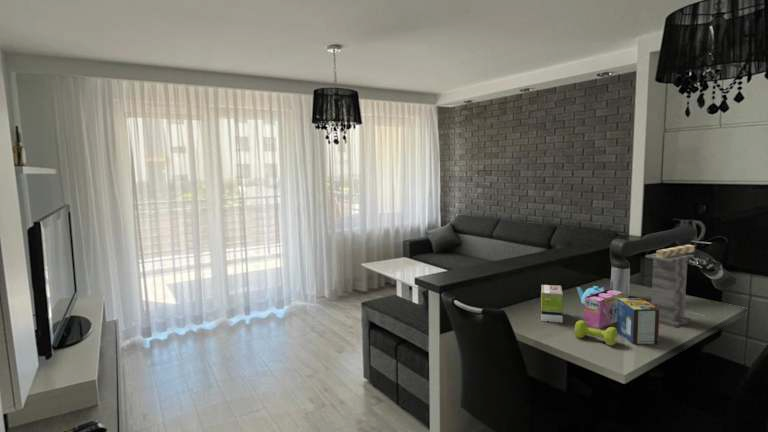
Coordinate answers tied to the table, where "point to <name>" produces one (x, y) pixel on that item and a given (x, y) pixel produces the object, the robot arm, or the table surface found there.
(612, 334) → the dumbbell
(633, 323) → the protein box
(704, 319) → the table surface
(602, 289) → the teapot
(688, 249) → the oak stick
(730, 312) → the table surface
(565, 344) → the table surface
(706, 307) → the table surface
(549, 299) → the tea box
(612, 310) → the gum box
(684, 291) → the pedestal shelf
